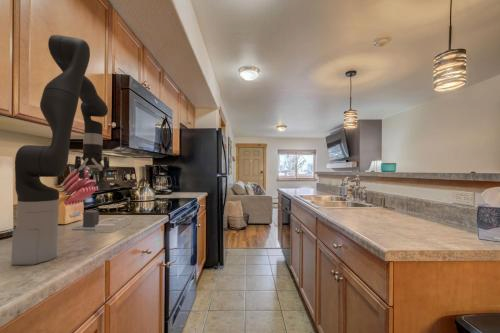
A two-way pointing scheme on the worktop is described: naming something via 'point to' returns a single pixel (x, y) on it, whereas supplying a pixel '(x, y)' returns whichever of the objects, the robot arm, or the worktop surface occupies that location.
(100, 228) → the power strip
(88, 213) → the charger
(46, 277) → the worktop surface
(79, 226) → the trivet
